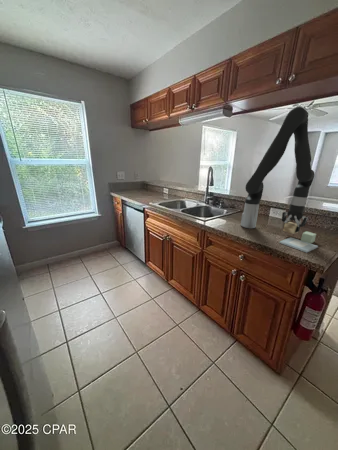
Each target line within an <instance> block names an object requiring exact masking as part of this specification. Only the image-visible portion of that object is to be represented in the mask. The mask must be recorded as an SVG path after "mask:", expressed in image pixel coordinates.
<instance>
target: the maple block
mask: <svg viewBox="0 0 338 450" xmlns="http://www.w3.org/2000/svg"><path fill="white" fill-rule="evenodd" d="M296 227H297V224H296V222H292V221H289V222H288V223H285V225H284V224H283V230H282V231H283V232H285V233H289V234H290V235H291V234H292V235H294V234H297V233H296V232H295V231H296Z"/></svg>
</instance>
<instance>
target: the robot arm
mask: <svg viewBox="0 0 338 450" xmlns="http://www.w3.org/2000/svg"><path fill="white" fill-rule="evenodd" d="M308 129H309V113H308V111H307V110H306V109H305V108H304V107H302V106H295V107H293V108H292V109H291V110H289V112H288V113H286V116H285V118H284V120H283V122H282V124H281V127H280V129H279V131H278V132H277V134H276V136H275V137H274V139H273V141H272V142H271V144H270V145H269V147H268V148H267V150H266V151H265V153H264V155H263V157H262V159H261V160H260V163H259V164H258V166H257V168H256V170H255V171H254V173H253V174H252V175H251V177H250V179H248V181H247V183H246V185H245V191H246V193H247V196H246V198H245V200H244V207H243V212H242V213H241V221H240V226H241V227H243V228H246V229H255V228H256V226H257V222H258V221H257V220H258V215H259V208H260V203H261V200H262V196H263V192H264V182H263V181H264V180H265V178H267V176H268V174H269V173H270V172H271V171H272V170H273V169H274V168H275V167H276V166H277V164H278V163H279V162H280V160H281V159H282V157H283V156H284V154H285V152H286V149H287V147H288V145H289V141H290V139H291V137H292V136H293V137H294V148H293V149H294V158H295V159H294V160H295V163H296V166H295V167H296V168H295V169H296V170H295V171H296V173H295V174H296V179H297V180H298V182H297V184H296V186H295V188H294V190H293V193H292V198H291V200H290V203H289V208H288V211H283V212H282V214H281V215H282V216H281V222H283V223H284V224H283V226H284V225H285V223H288V222H291V221H294V222H295V223H296V224H297V227H296V231H295V232H296V233H295V234H297V233H299V232H300V230H301V228H303V227H305V226H306V224H307V222H308V221H309V216H305V215H304V212H305V208H306V206H307V201H308V195H309V192H310V188H311V186H312V185H313V181H314V179H315V171H314V170H313V169H312V167H311V166H312V165H311V163H312V155H311V153H312V152H311V147H310V142H309V141H310V140H309V132H308ZM301 219H302V220H301Z"/></svg>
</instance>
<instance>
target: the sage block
mask: <svg viewBox="0 0 338 450" xmlns="http://www.w3.org/2000/svg"><path fill="white" fill-rule="evenodd" d="M316 236H317V233H313V232H311V231H307V230H306V231H304V232H302V235H301V237H300V240H301V241H304V242H307V243H310V244H313V243H315V241H316Z"/></svg>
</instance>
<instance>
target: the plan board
mask: <svg viewBox="0 0 338 450" xmlns="http://www.w3.org/2000/svg"><path fill="white" fill-rule="evenodd" d="M279 244H281V245H285V246H287V247H290V248H293V249H295V250H298V251H301V252H304V253H309V252H311V251H313V250H315V249H318V247H319V245H316V244H313V243H311V244H310V243H307V242H304V241H301V239H298V238H294V237H291V236H290V237H288V238H285V239H283V240H280V241H279Z"/></svg>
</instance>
